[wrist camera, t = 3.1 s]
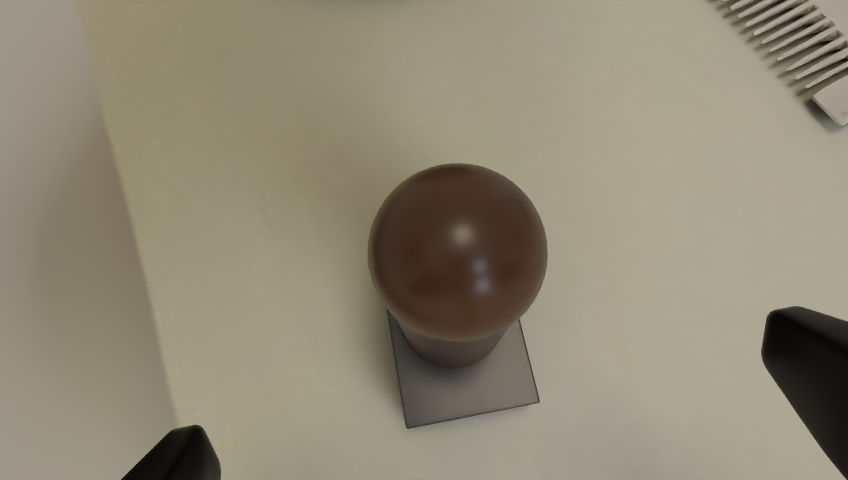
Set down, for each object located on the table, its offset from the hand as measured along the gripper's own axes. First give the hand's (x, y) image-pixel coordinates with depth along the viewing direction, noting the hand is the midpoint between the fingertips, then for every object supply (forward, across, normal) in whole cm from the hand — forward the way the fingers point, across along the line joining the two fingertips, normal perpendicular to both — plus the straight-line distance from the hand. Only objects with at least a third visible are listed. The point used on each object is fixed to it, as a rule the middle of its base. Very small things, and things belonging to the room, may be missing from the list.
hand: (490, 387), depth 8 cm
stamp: (+9, 0, +5) cm, 10 cm away
